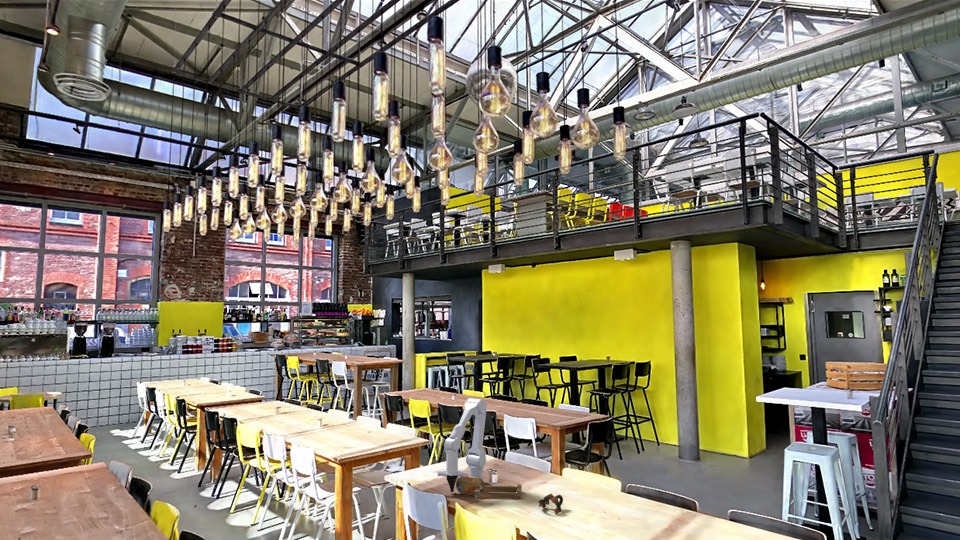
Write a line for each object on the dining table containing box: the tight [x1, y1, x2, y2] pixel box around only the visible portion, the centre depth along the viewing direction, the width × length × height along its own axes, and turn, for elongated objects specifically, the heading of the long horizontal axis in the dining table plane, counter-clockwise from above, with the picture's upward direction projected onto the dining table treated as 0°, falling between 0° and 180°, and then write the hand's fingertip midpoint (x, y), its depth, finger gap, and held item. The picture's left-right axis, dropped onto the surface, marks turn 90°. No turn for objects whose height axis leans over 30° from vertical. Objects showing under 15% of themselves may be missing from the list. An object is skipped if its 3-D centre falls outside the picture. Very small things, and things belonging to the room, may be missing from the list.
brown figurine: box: [537, 493, 564, 515], centre depth 236 cm, size 12×10×8 cm
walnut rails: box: [474, 483, 523, 500], centre depth 258 cm, size 11×22×4 cm, turn 83°
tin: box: [455, 475, 486, 497], centre depth 259 cm, size 15×3×8 cm, turn 65°
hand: (452, 491), depth 261 cm, fingers closed
